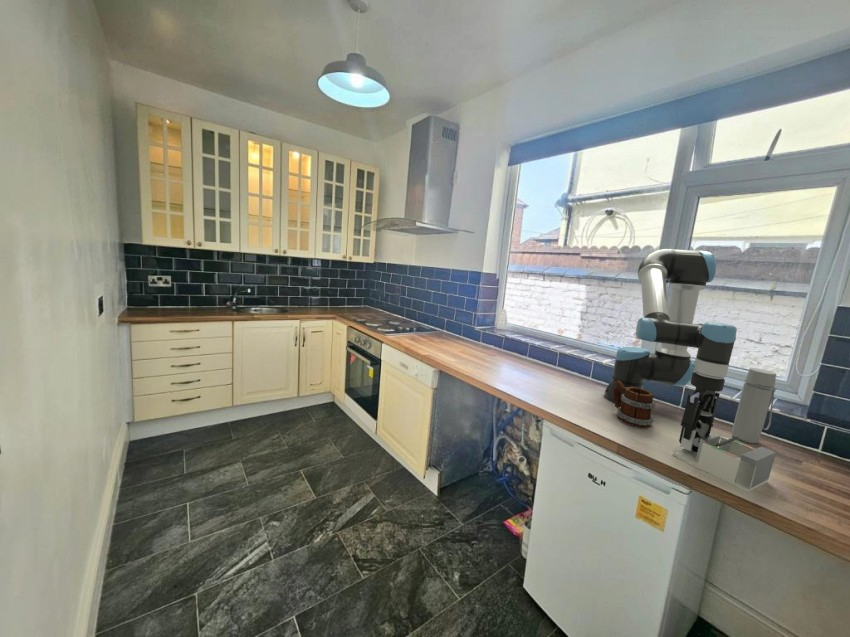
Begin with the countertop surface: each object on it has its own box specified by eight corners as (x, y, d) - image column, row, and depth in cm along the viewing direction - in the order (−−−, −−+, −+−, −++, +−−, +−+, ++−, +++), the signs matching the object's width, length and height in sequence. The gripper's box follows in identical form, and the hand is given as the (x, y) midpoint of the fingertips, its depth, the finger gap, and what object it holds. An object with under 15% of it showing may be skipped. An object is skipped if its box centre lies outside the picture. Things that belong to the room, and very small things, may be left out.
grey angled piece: (713, 453, 104) (718, 429, 103) (742, 466, 98) (749, 441, 97) (692, 461, 99) (698, 436, 97) (722, 475, 92) (729, 449, 91)
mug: (642, 431, 117) (642, 388, 117) (604, 419, 130) (604, 381, 130) (661, 426, 122) (662, 385, 122) (623, 416, 135) (623, 378, 135)
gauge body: (692, 448, 109) (699, 422, 107) (767, 482, 93) (776, 452, 92) (672, 455, 103) (678, 427, 102) (748, 492, 88) (756, 460, 86)
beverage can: (682, 450, 102) (691, 412, 100) (675, 440, 108) (683, 404, 106) (709, 456, 100) (718, 418, 98) (700, 445, 106) (708, 409, 104)
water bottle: (736, 441, 116) (754, 371, 112) (726, 431, 124) (742, 365, 119) (771, 448, 113) (790, 377, 109) (758, 438, 120) (776, 370, 116)
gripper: (710, 368, 108) (694, 435, 112) (676, 373, 99) (661, 445, 103) (739, 376, 101) (722, 446, 105) (707, 382, 92) (689, 459, 96)
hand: (692, 446), depth 104 cm, fingers closed on beverage can, 7 cm apart
